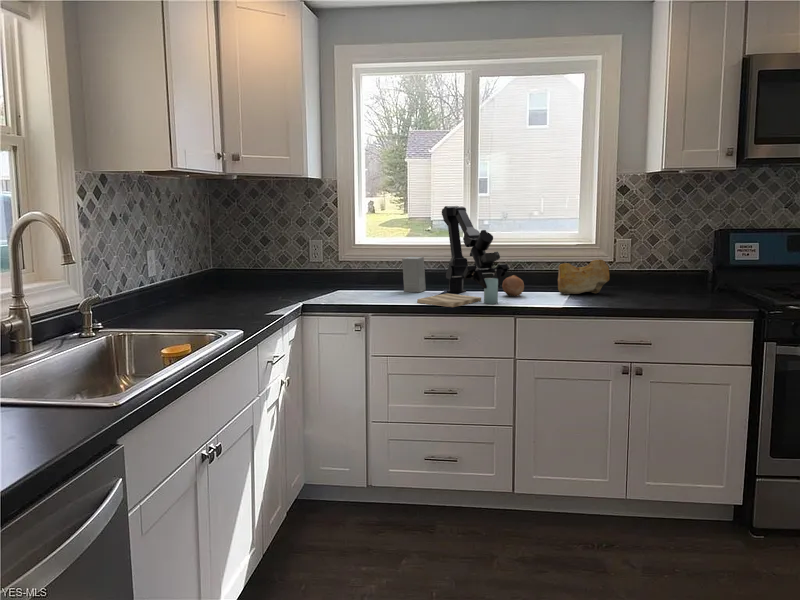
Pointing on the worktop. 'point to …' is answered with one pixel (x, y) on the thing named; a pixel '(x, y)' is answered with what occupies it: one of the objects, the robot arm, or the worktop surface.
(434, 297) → the oak board
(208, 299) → the worktop surface
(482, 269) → the robot arm
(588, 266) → the rough brown rock
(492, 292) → the ceramic jar
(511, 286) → the onion
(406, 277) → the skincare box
